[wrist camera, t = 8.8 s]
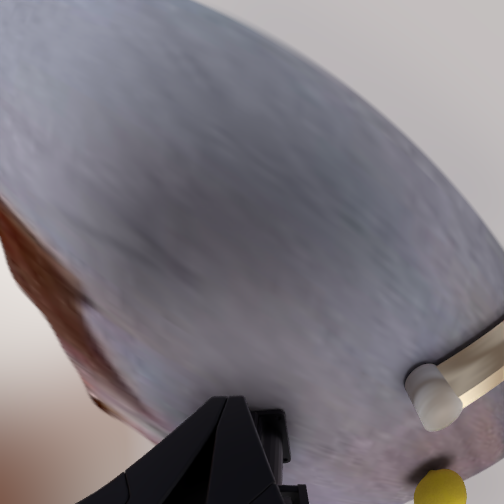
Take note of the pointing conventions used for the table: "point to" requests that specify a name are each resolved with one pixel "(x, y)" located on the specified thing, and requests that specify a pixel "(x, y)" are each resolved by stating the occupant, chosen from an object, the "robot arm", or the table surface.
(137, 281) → the table surface
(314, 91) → the table surface
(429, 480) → the lemon
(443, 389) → the cream brown-tipped bar
